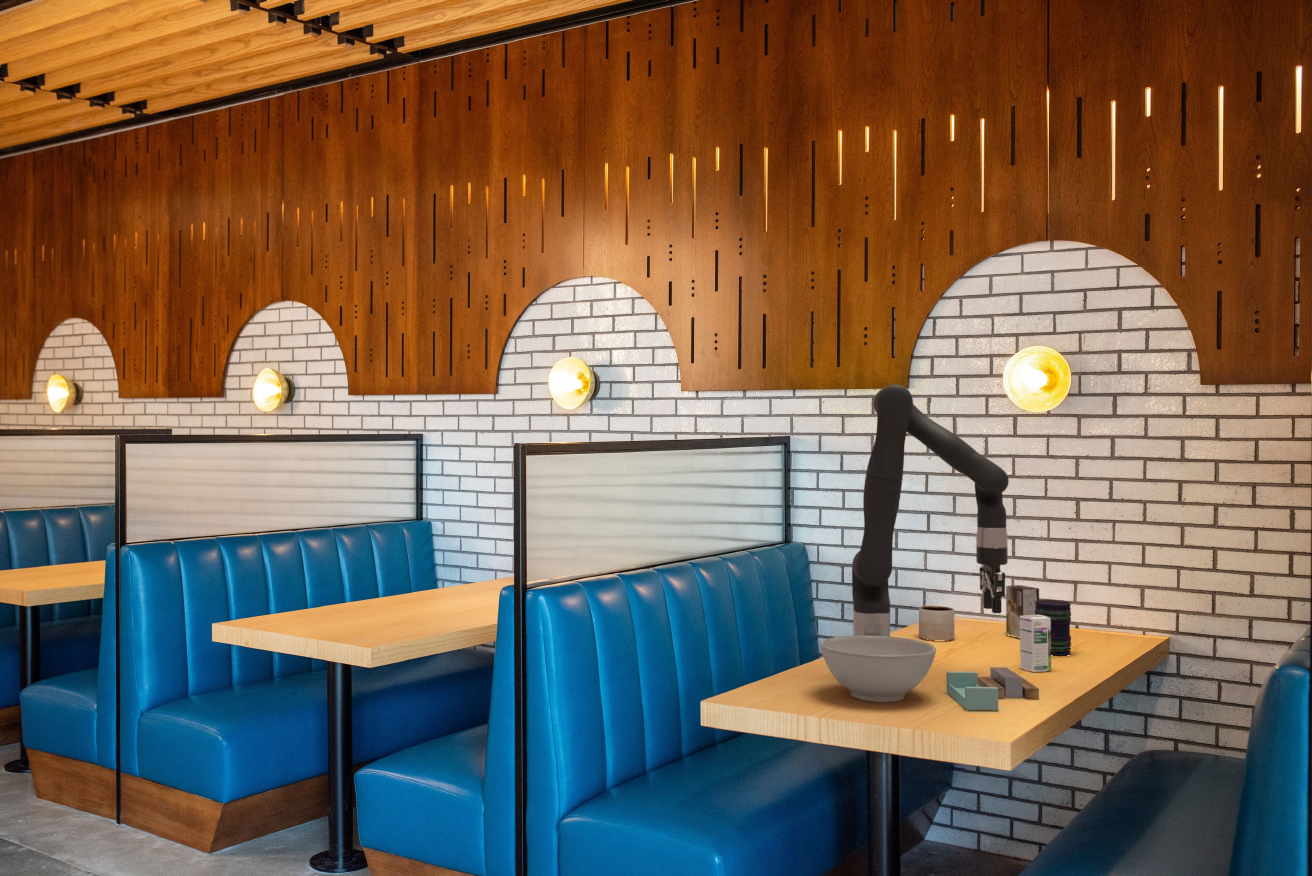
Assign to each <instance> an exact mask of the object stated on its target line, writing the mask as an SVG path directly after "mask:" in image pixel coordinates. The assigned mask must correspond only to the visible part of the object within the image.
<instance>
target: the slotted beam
mask: <svg viewBox="0 0 1312 876" xmlns="http://www.w3.org/2000/svg"><path fill="white" fill-rule="evenodd" d="M1022 678H1023V698H1024V699H1025V700H1040V688H1039V687H1038V686H1036V685H1035V684H1032V683H1031V682H1030V681H1028V680H1027V679H1025V678H1024V677H1022ZM978 686H980V687H997V688H998V700H1005V699H1006V698H1005V688H1004V687H1002V686H1001V685H999V684H998V683H997V682H995V681H994V680H993V679H991V678H990V677H989V676H988V677H986V676H984V677H983V676H978Z"/></svg>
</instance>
